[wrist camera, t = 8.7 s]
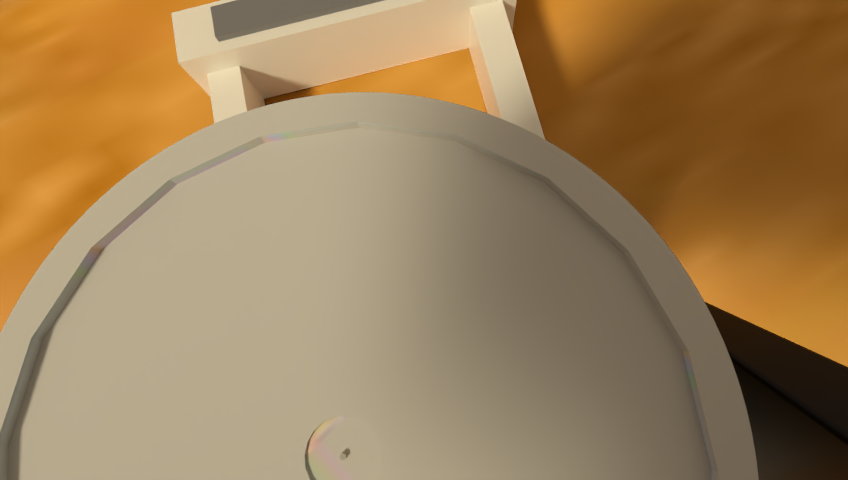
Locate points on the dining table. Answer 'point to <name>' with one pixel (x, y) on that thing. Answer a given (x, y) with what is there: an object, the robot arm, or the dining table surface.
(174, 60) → the dining table surface
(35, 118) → the dining table surface
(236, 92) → the dock
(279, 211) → the bottle
